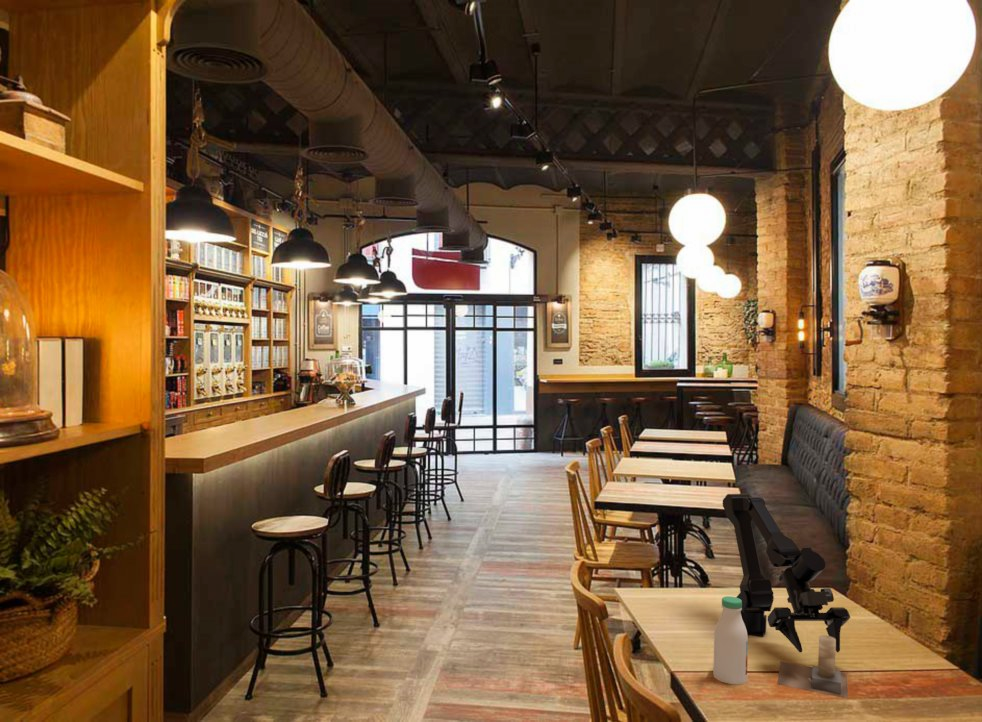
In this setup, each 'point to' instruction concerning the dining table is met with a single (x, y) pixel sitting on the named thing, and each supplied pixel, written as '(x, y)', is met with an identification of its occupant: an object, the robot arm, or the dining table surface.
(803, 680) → the walnut board
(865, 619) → the dining table surface
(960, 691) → the dining table surface
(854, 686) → the dining table surface
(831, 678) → the tan and grey post
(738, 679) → the milk bottle
